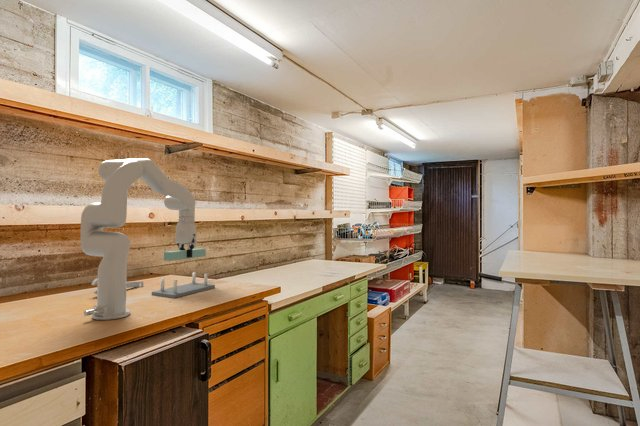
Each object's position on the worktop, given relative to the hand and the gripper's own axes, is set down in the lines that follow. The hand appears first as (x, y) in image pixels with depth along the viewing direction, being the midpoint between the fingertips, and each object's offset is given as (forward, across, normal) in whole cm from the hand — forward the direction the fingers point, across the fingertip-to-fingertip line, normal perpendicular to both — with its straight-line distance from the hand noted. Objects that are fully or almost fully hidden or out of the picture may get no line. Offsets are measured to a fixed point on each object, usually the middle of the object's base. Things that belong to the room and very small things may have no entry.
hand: (185, 256), depth 186 cm
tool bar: (+1, 0, 0) cm, 1 cm away
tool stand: (+17, 0, 0) cm, 17 cm away
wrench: (+18, -27, -16) cm, 36 cm away
